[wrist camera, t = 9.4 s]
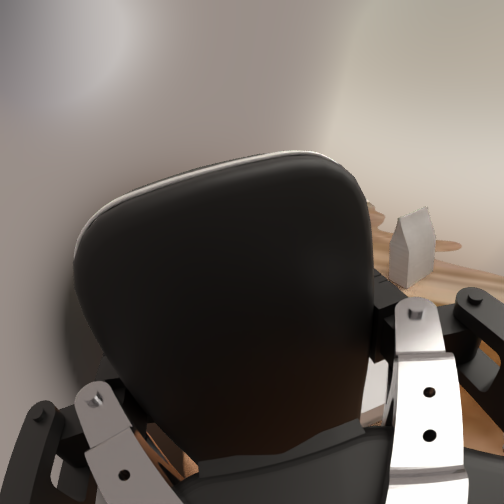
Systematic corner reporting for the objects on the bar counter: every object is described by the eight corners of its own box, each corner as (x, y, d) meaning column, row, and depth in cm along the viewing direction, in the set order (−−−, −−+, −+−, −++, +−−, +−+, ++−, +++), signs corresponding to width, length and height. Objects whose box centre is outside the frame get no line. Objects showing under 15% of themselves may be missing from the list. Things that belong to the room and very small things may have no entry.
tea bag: (432, 271, 38) (437, 209, 34) (406, 289, 36) (409, 222, 32) (415, 263, 41) (417, 203, 37) (388, 279, 39) (389, 215, 35)
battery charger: (327, 380, 13) (298, 138, 9) (365, 432, 10) (373, 139, 5) (197, 428, 12) (83, 199, 8) (213, 492, 9) (33, 235, 4)
